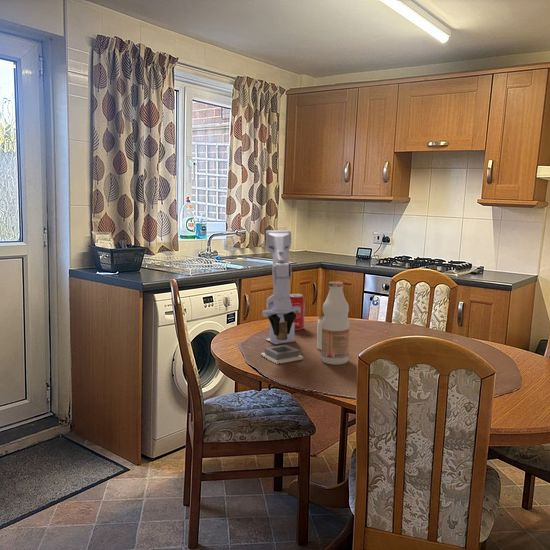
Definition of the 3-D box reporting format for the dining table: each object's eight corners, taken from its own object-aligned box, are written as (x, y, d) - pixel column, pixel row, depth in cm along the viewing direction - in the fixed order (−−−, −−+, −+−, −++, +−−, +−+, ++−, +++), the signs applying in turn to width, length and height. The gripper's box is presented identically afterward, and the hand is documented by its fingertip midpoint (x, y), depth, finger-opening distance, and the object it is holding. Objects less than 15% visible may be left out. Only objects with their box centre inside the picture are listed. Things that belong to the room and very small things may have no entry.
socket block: (286, 351, 200) (286, 343, 200) (302, 359, 191) (303, 351, 190) (260, 355, 195) (260, 347, 194) (276, 364, 185) (276, 355, 185)
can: (314, 347, 205) (314, 316, 204) (329, 345, 208) (329, 315, 206) (322, 352, 199) (322, 320, 198) (337, 349, 202) (337, 318, 200)
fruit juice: (316, 362, 188) (317, 283, 183) (329, 355, 195) (331, 279, 191) (340, 367, 182) (341, 285, 178) (353, 360, 190) (354, 281, 186)
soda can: (284, 330, 231) (284, 296, 228) (288, 326, 238) (289, 292, 236) (301, 331, 228) (302, 297, 226) (306, 327, 236) (306, 293, 233)
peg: (283, 336, 195) (283, 320, 194) (289, 339, 191) (289, 322, 190) (273, 338, 192) (273, 321, 192) (280, 340, 189) (280, 324, 188)
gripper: (269, 300, 182) (269, 339, 185) (305, 296, 190) (304, 334, 192) (259, 297, 189) (259, 334, 191) (294, 293, 196) (294, 329, 198)
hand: (281, 334), depth 192 cm, fingers closed on peg, 4 cm apart
